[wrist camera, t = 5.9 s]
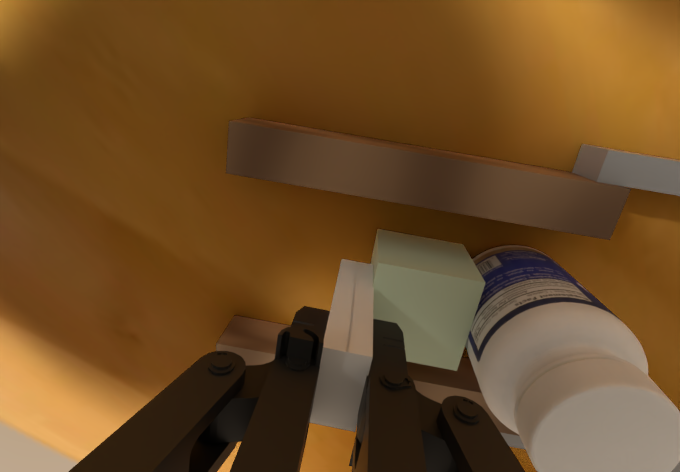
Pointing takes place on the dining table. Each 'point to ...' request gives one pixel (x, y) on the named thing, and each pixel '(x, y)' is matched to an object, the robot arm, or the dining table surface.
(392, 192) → the slot rails
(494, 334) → the pill bottle
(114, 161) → the dining table surface
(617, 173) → the grey u-shaped frame
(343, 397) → the robot arm
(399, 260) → the chip cube
